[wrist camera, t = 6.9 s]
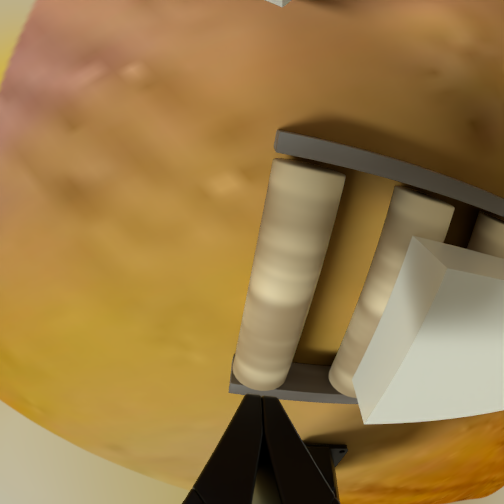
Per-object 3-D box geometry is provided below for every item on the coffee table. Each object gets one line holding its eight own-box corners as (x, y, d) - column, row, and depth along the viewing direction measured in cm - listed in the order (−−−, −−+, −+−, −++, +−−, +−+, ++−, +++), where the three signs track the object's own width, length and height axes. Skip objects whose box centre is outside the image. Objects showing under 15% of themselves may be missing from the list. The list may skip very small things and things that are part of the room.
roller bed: (513, 374, 20) (528, 395, 17) (232, 363, 19) (227, 400, 16) (580, 237, 14) (604, 253, 12) (277, 129, 13) (280, 132, 11)
